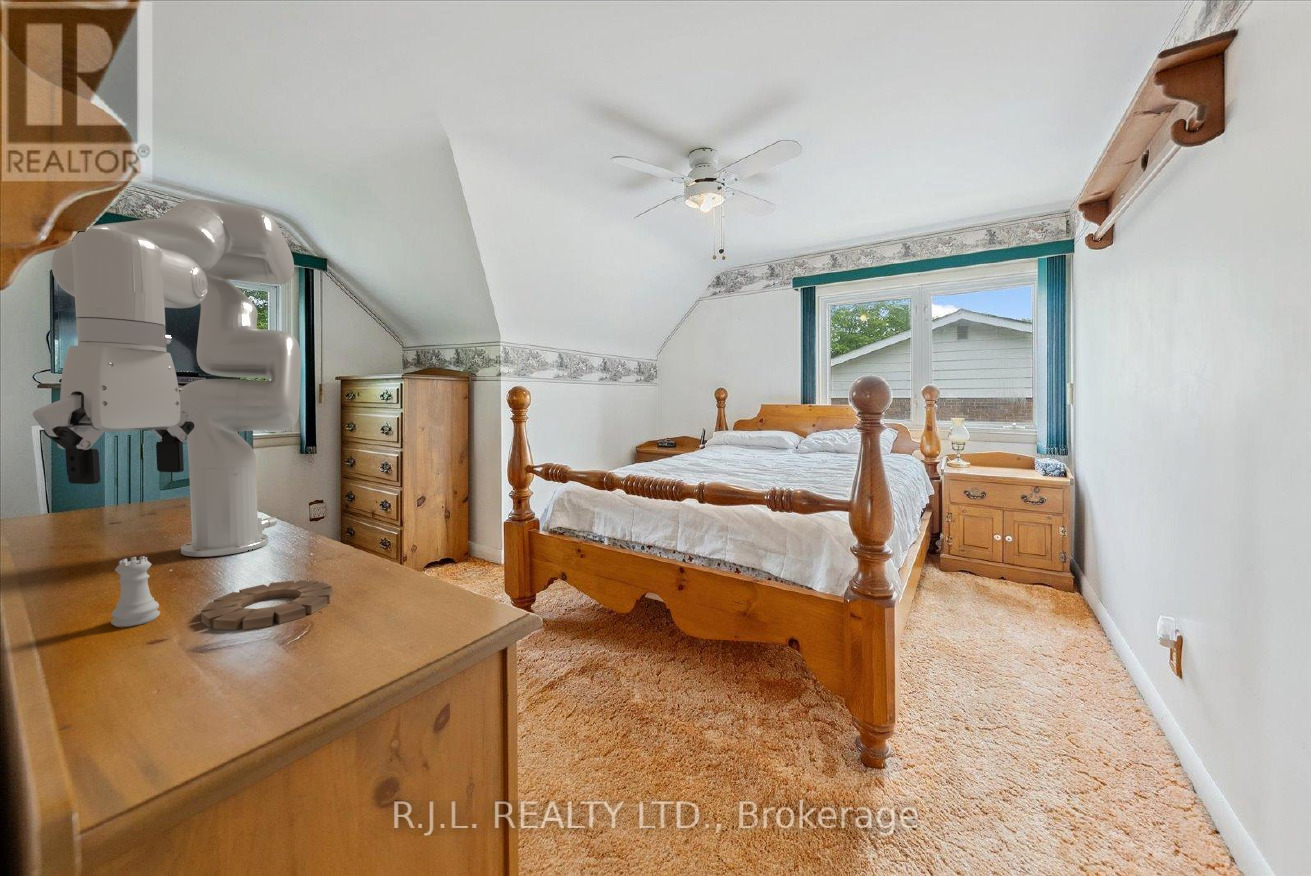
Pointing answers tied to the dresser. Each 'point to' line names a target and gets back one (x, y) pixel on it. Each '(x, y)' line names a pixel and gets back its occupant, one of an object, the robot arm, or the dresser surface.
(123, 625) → the rook chess piece
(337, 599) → the dresser surface
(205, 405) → the robot arm
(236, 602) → the walnut ring
